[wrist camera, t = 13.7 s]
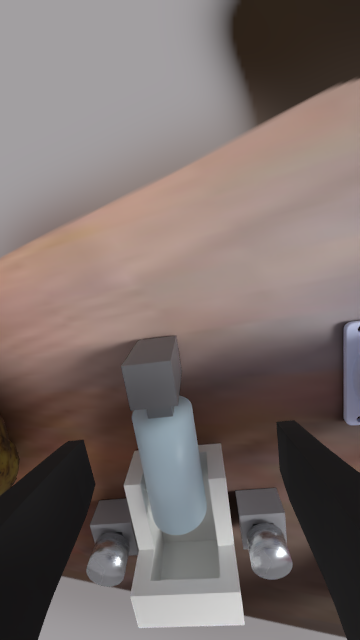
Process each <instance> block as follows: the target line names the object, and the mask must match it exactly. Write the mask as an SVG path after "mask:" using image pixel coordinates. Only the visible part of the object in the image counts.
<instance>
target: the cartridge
mask: <svg viewBox="0 0 360 640" xmlns="http://www.w3.org/2000/svg"><path fill="white" fill-rule="evenodd" d="M121 368H122V373H123V378H124V383H125V387H126V392H127V397H128V401H129V406H130V411H133V410H134V411H133V414H132V422H133V426H134V431H135V436H136V440H137V445H138V450H139V454H140V459H141V464H142V469H143V473H144V478H145V483H146V487H147V492H148V497H149V501H150V506H151V511H152V515H153V520H154V522H155V524H156V526H157V527H158V528H159V529H160V530H161V531H163V532H165V533H167V534H170V535H183V534H186V533H189V532H191V531H192V530H194V529H195V528H197V527H198V526H199V525H200V523H201V522H202V520H203V519H204V517H205V514H206V510H207V503H206V496H205V489H204V483H203V476H202V469H201V463H200V456H199V449H198V443H197V436H196V429H195V423H194V416H193V410H192V404H191V402H190V401H189V400H188V399H187V398H185V397H183V396H180V395H179V393H180V384H181V374H182V369H181V363H180V357H179V350H178V344H177V337H176V336H168V337H160V338H152V339H144V340H138V341H137V343H136V344H135V346H134V347H133V349H132V350H131V352H130V353H129V355H128V357H127V358H126V360H125V361H124V363H123V364H122V366H121Z"/></svg>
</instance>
